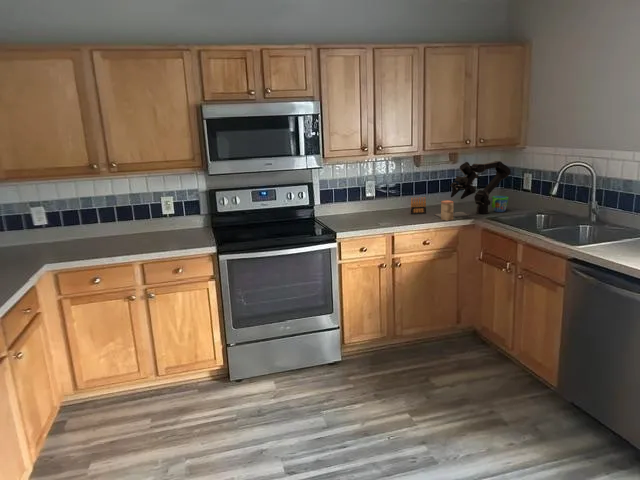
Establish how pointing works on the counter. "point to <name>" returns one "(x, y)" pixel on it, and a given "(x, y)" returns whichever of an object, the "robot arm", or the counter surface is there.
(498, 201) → the snack cup
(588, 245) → the counter surface
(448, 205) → the birch block
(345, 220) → the counter surface
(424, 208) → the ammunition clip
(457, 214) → the rubber mat
